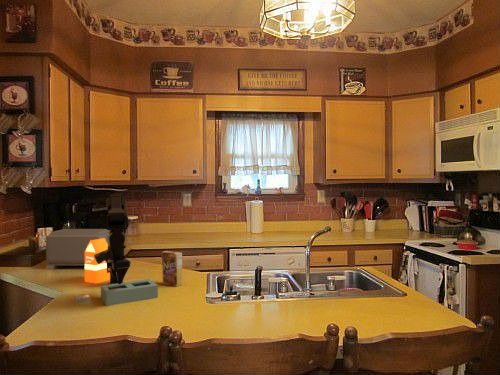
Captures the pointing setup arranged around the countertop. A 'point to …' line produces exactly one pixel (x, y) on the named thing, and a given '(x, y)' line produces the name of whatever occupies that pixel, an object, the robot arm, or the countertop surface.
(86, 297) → the steel tile
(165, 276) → the candy box
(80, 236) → the toaster
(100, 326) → the countertop surface
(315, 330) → the countertop surface
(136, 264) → the countertop surface
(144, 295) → the grey holed block
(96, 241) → the orange juice
